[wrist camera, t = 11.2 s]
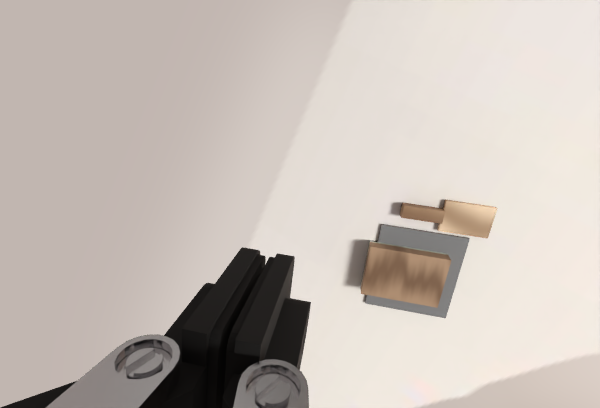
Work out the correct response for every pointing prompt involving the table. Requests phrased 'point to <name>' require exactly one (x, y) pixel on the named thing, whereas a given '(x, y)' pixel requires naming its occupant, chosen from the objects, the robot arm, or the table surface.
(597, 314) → the table surface
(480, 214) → the turner
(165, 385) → the robot arm
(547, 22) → the table surface
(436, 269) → the brown wooden block
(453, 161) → the table surface
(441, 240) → the mat
